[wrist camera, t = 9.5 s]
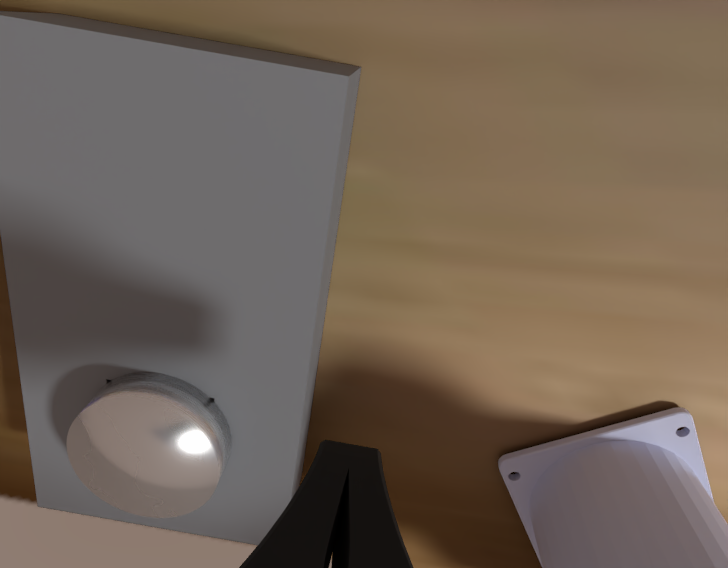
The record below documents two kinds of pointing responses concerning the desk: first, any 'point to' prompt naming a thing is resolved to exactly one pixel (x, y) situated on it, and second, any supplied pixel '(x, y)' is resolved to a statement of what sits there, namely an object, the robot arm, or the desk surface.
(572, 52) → the desk surface
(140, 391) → the headed pin
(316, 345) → the grey flat block
